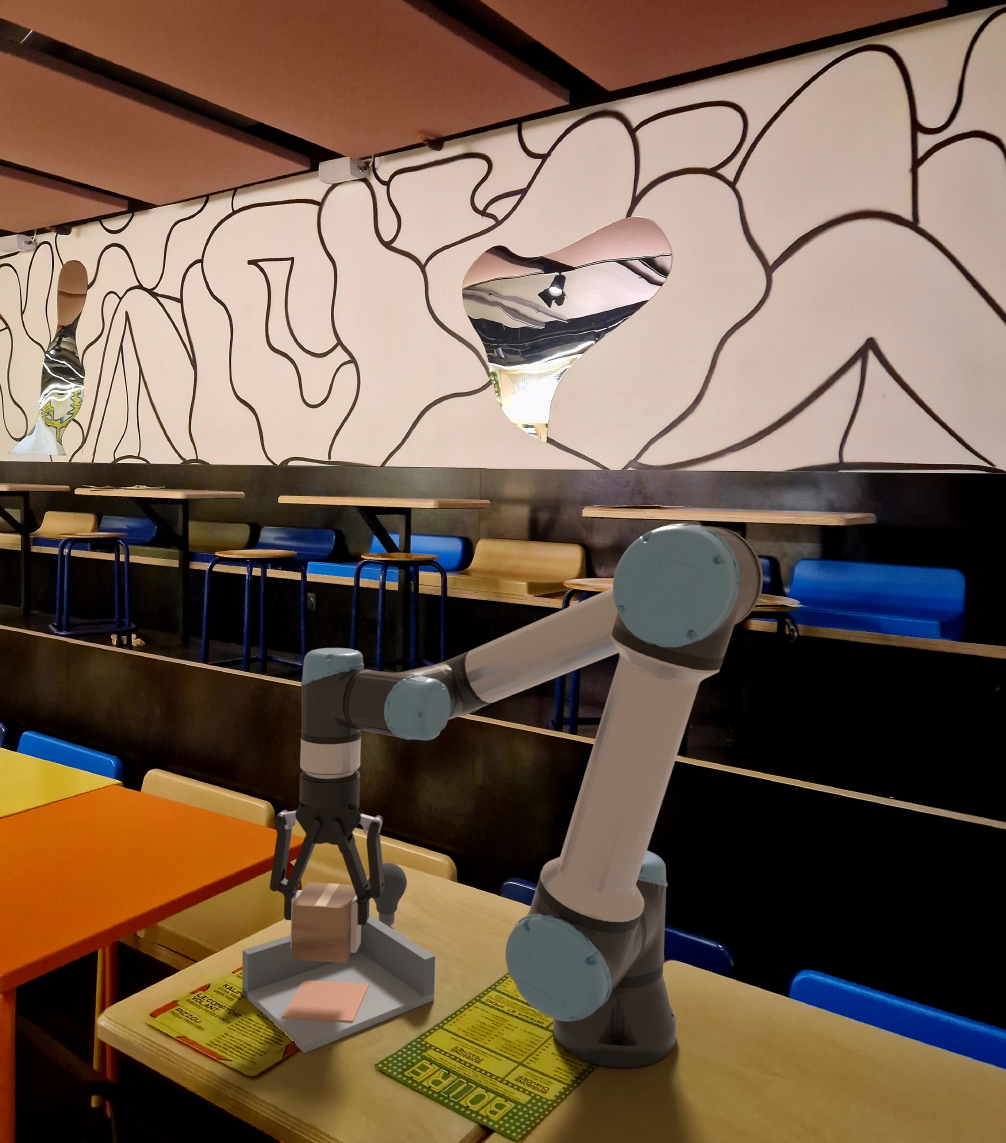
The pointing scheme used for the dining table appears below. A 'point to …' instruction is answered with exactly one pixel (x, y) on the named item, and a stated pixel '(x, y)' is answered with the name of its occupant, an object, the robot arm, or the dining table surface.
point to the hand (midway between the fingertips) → (325, 945)
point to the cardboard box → (322, 923)
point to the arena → (338, 985)
